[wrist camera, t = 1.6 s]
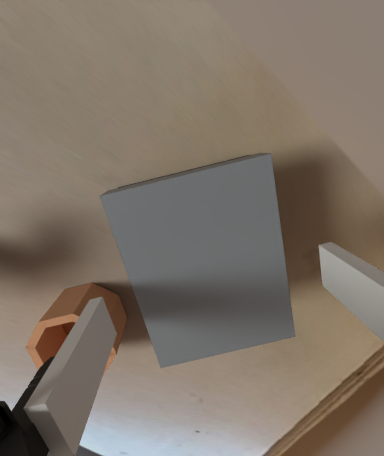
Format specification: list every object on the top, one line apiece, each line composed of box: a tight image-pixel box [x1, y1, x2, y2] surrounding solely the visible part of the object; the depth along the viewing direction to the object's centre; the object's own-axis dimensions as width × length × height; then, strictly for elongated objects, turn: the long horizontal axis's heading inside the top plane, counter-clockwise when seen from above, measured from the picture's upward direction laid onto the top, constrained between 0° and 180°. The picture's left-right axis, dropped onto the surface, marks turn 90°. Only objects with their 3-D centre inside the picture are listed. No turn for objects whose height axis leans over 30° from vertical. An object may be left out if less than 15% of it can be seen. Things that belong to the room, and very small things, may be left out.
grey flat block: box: [100, 153, 295, 368], centre depth 17 cm, size 13×10×2 cm
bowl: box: [26, 283, 127, 375], centre depth 24 cm, size 7×7×5 cm
